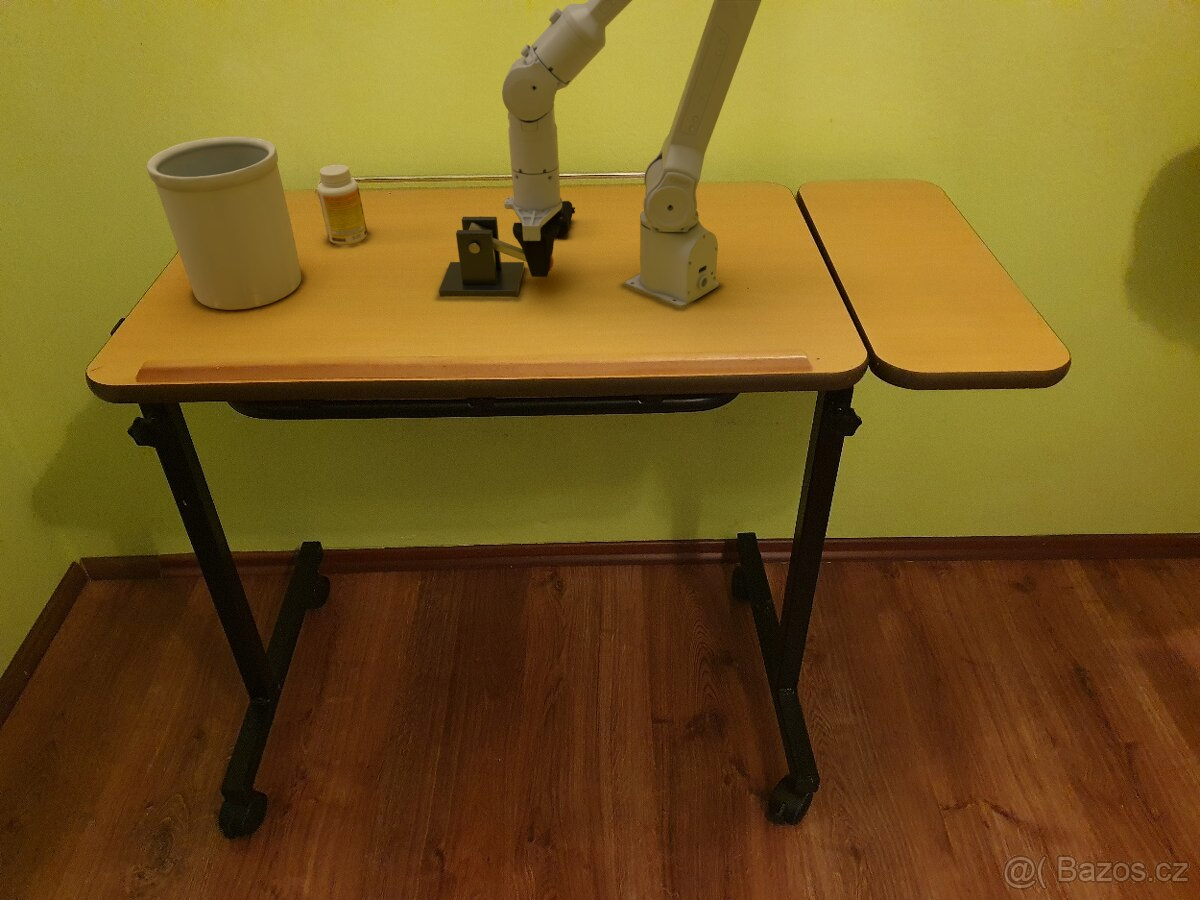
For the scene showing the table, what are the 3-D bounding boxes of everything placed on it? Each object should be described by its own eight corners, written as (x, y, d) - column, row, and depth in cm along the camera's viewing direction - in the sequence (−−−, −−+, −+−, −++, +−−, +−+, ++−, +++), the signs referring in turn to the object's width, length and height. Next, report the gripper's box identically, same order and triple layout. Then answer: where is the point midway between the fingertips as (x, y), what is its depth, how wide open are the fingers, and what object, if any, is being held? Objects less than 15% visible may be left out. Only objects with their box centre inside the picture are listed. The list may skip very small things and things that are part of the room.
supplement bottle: (375, 239, 130) (361, 169, 124) (339, 250, 127) (324, 180, 121) (357, 227, 133) (343, 158, 127) (322, 237, 131) (306, 168, 124)
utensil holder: (213, 261, 126) (173, 135, 115) (319, 259, 125) (289, 132, 114) (173, 314, 114) (124, 179, 103) (290, 311, 114) (254, 176, 103)
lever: (550, 270, 118) (558, 249, 116) (547, 282, 116) (555, 261, 114) (466, 239, 116) (473, 217, 114) (461, 250, 114) (468, 228, 112)
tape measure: (568, 242, 127) (567, 217, 125) (520, 240, 128) (518, 216, 126) (575, 222, 133) (575, 198, 130) (530, 220, 134) (528, 196, 131)
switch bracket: (524, 270, 121) (519, 211, 116) (517, 299, 115) (512, 238, 110) (451, 269, 122) (443, 211, 117) (439, 298, 115) (430, 238, 110)
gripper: (509, 144, 114) (517, 243, 122) (493, 189, 103) (503, 295, 111) (565, 144, 114) (569, 244, 122) (554, 189, 102) (560, 296, 111)
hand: (541, 268), depth 117 cm, fingers closed on lever, 3 cm apart
